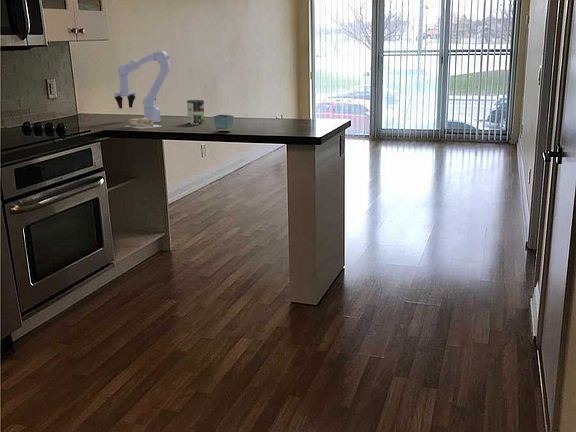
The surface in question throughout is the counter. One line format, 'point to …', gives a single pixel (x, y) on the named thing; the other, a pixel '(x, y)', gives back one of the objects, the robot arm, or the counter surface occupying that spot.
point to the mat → (144, 127)
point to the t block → (141, 122)
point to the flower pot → (223, 121)
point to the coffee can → (195, 111)
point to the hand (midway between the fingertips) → (125, 107)
